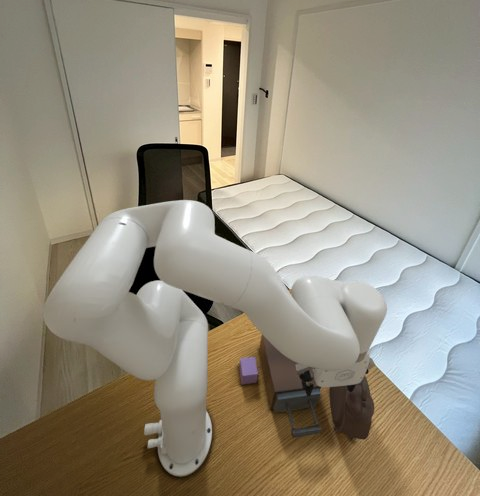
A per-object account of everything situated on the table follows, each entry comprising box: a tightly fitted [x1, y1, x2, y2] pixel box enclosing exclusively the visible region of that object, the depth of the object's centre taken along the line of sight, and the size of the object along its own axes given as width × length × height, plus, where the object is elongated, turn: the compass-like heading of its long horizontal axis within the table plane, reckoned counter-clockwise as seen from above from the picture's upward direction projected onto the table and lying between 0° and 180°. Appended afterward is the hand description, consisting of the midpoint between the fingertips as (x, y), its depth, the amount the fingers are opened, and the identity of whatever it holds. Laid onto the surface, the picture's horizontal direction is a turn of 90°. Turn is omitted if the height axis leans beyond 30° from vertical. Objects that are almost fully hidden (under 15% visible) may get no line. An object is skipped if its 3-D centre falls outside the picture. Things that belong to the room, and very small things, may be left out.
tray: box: [273, 388, 323, 439], centre depth 65 cm, size 20×11×7 cm, turn 8°
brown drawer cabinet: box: [258, 334, 322, 410], centre depth 70 cm, size 15×13×9 cm
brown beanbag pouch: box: [328, 374, 376, 441], centre depth 60 cm, size 15×7×20 cm, turn 168°
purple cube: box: [238, 356, 259, 385], centre depth 70 cm, size 4×4×4 cm
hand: (326, 385), depth 54 cm, fingers open, 9 cm apart
